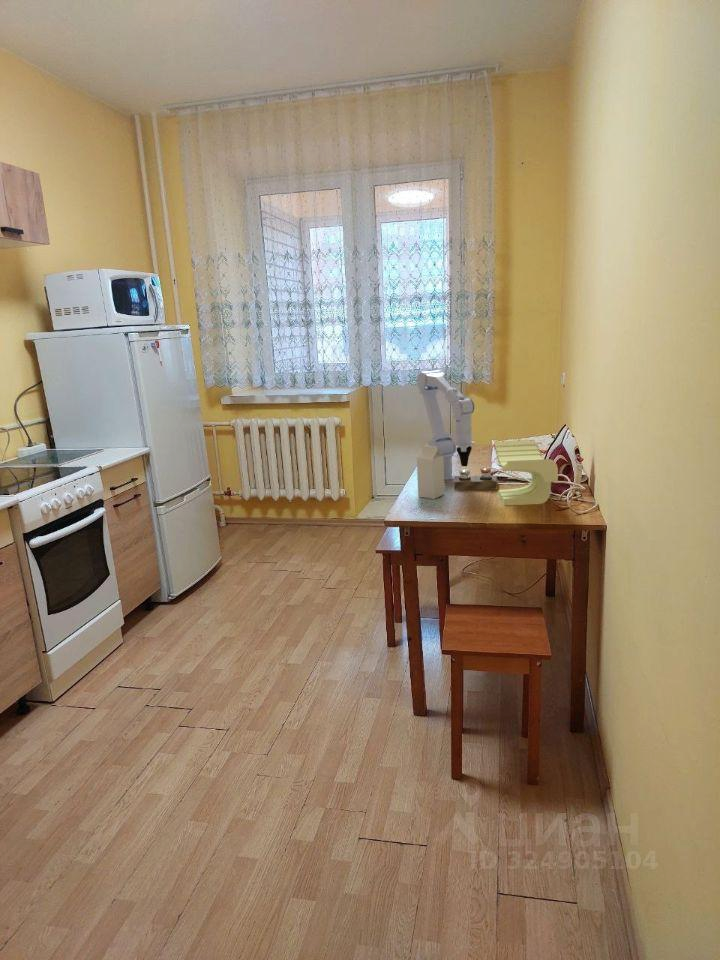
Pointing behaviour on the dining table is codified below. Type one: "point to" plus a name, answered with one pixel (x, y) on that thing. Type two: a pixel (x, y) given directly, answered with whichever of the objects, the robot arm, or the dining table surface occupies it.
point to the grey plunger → (464, 474)
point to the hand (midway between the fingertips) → (464, 465)
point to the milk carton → (430, 472)
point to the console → (475, 483)
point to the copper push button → (485, 473)
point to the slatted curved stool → (526, 460)
